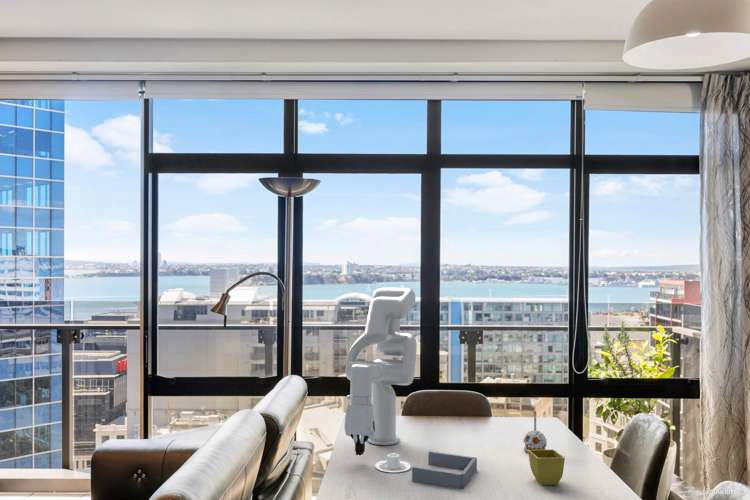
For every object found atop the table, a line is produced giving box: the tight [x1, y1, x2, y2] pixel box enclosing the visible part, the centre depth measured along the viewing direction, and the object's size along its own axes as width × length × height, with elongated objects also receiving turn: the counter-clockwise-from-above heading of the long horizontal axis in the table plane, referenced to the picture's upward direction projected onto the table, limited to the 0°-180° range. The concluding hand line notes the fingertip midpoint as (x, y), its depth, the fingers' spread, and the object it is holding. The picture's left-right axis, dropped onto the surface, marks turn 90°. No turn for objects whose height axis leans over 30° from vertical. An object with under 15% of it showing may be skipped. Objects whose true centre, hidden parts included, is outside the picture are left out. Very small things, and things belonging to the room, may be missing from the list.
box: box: [411, 450, 478, 490], centre depth 180 cm, size 16×18×4 cm
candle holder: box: [374, 452, 412, 473], centre depth 187 cm, size 12×12×4 cm
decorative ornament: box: [523, 410, 547, 453], centre depth 205 cm, size 8×8×15 cm
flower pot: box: [527, 448, 566, 486], centre depth 175 cm, size 9×9×9 cm
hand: (359, 454), depth 191 cm, fingers closed
